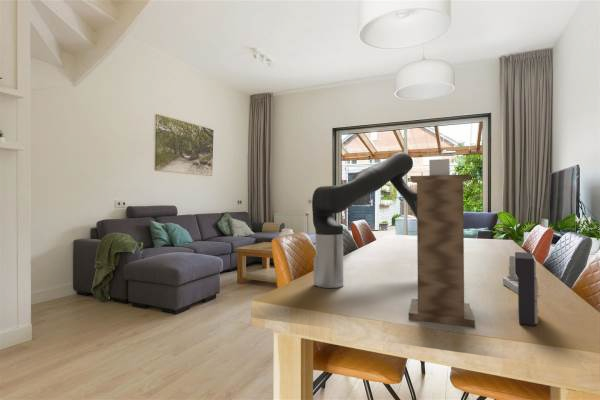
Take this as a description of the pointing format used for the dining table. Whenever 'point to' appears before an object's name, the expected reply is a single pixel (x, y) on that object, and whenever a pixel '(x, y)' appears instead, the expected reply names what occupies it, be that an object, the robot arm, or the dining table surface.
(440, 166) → the white cylinder with crossbar
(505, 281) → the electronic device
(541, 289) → the dining table surface
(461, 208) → the wooden pedestal stand
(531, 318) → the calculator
